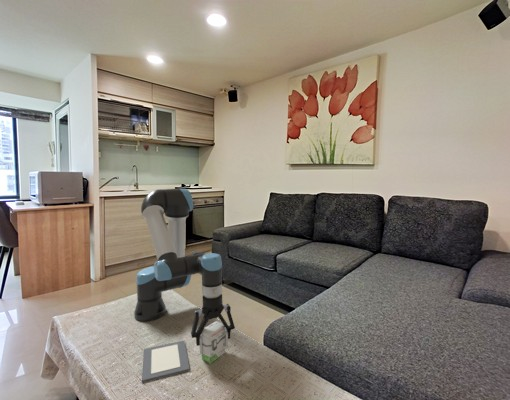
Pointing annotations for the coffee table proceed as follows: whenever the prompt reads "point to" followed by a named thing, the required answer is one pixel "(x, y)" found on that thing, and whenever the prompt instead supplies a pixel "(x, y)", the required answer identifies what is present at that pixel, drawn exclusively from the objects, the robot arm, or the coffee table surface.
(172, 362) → the writing mat
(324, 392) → the coffee table surface
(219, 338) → the ink box
